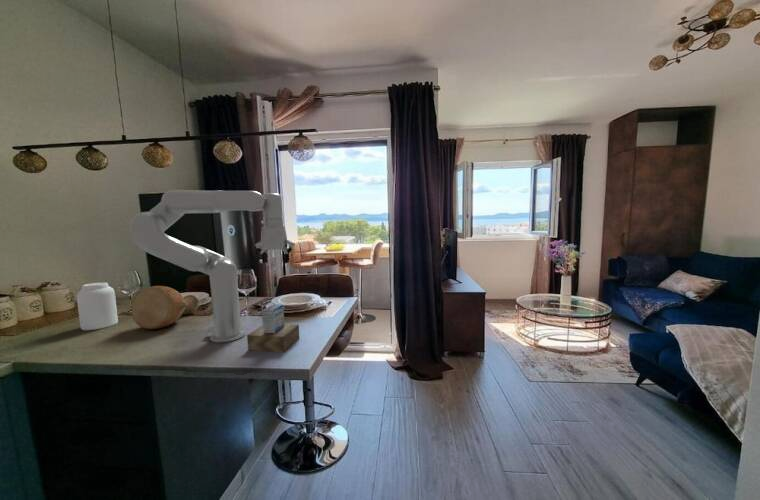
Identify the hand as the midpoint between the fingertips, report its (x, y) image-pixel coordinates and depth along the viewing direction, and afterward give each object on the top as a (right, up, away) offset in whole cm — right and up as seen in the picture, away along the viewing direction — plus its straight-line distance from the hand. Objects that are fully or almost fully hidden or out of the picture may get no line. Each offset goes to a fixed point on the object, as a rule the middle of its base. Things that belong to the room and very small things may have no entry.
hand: (275, 262), depth 123 cm
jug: (-54, -29, +13) cm, 62 cm away
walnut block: (+5, -30, -16) cm, 34 cm away
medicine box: (+5, -24, -16) cm, 30 cm away
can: (-85, -30, +9) cm, 91 cm away
